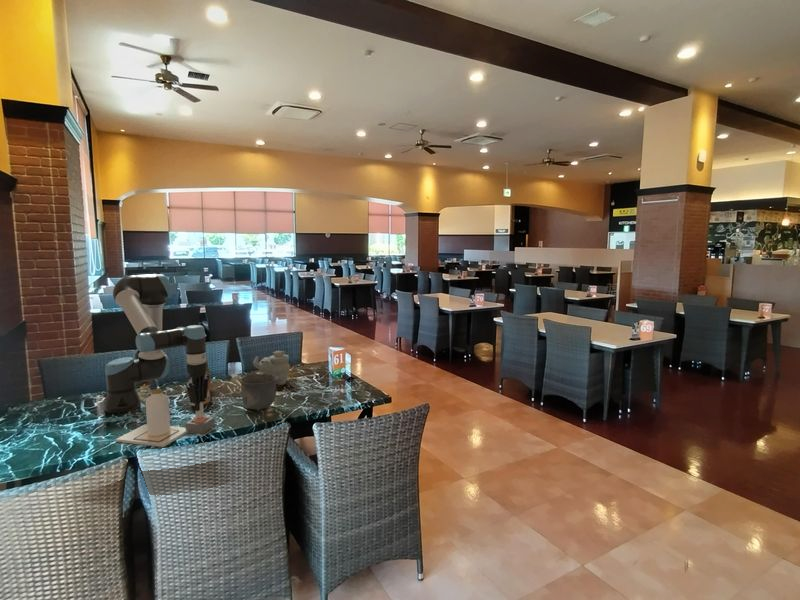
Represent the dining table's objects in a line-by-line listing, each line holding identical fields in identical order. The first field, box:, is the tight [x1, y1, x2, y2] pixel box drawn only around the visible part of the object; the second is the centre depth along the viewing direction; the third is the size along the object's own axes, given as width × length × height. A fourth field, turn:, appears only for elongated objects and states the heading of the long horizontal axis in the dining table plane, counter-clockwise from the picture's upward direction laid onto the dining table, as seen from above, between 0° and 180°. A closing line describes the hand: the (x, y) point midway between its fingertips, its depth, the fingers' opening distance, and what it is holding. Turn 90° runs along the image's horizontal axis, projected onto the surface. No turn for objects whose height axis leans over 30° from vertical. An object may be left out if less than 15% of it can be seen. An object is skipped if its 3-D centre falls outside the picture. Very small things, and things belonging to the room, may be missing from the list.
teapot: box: [252, 350, 291, 386], centre depth 253 cm, size 16×15×19 cm
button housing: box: [184, 416, 215, 435], centre depth 191 cm, size 8×8×4 cm
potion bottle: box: [145, 388, 171, 436], centre depth 183 cm, size 8×8×18 cm
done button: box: [192, 414, 207, 423], centre depth 191 cm, size 5×5×4 cm
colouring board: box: [115, 423, 188, 448], centre depth 184 cm, size 22×16×1 cm
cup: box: [239, 372, 278, 410], centre depth 214 cm, size 18×18×15 cm
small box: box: [190, 381, 211, 407], centre depth 221 cm, size 8×6×10 cm
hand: (199, 417), depth 190 cm, fingers closed
